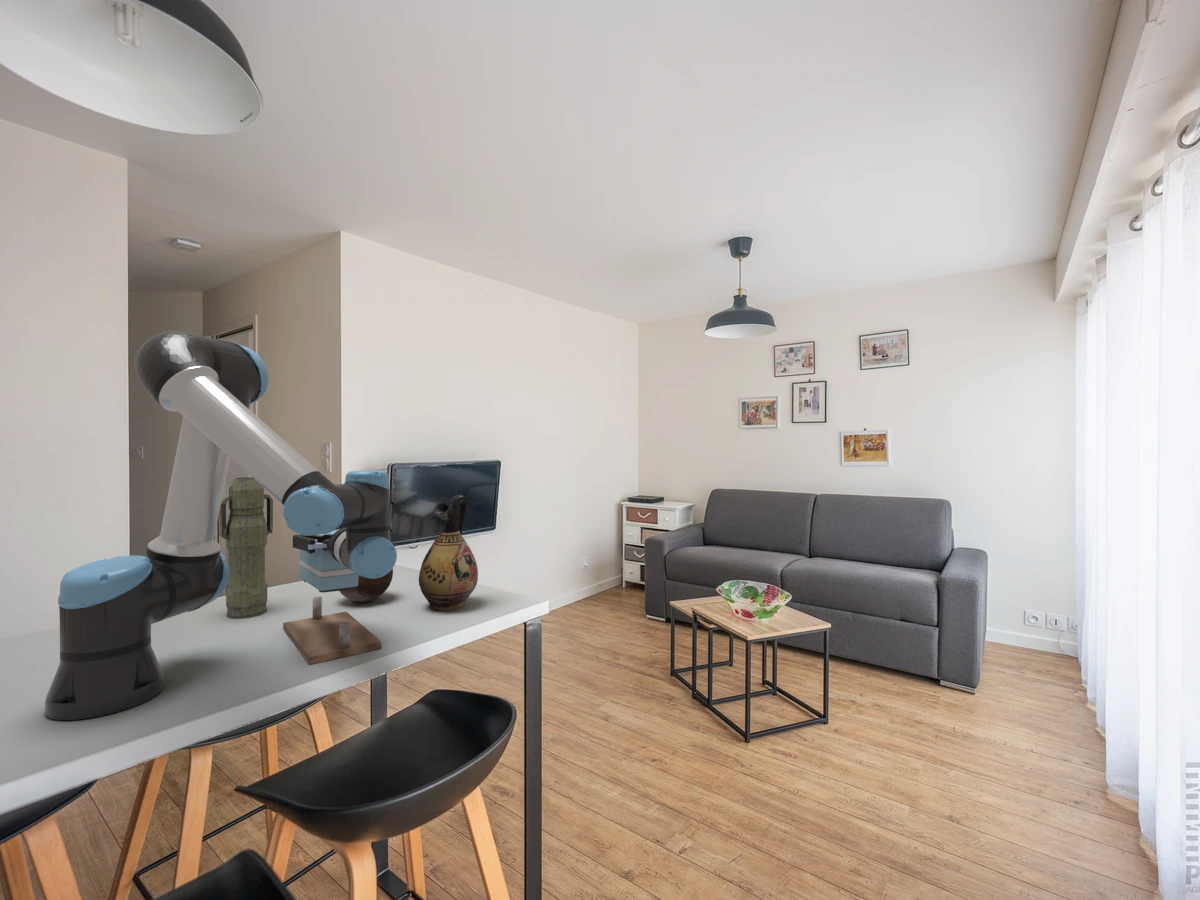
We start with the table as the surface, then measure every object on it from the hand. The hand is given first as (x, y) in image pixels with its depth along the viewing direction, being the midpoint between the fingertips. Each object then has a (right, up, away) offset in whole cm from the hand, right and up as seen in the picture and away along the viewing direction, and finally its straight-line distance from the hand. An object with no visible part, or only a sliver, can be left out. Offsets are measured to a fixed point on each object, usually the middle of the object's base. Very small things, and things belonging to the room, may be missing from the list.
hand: (325, 533), depth 127 cm
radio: (+3, -11, -3) cm, 12 cm away
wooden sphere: (-2, -23, +26) cm, 35 cm away
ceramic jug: (+23, -23, +22) cm, 40 cm away
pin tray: (+3, -23, -3) cm, 24 cm away
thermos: (-27, -23, +15) cm, 39 cm away
